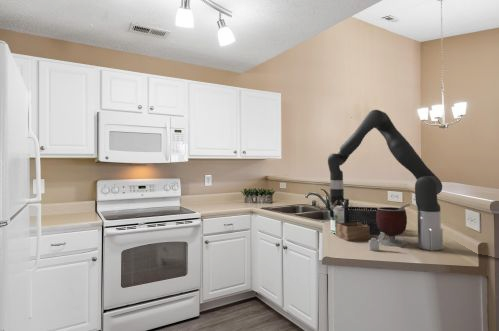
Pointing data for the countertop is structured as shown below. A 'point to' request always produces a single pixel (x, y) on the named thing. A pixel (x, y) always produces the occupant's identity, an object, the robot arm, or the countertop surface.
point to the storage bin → (363, 217)
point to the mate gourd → (391, 223)
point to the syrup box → (337, 218)
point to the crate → (353, 231)
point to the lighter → (376, 242)
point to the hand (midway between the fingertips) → (337, 217)
